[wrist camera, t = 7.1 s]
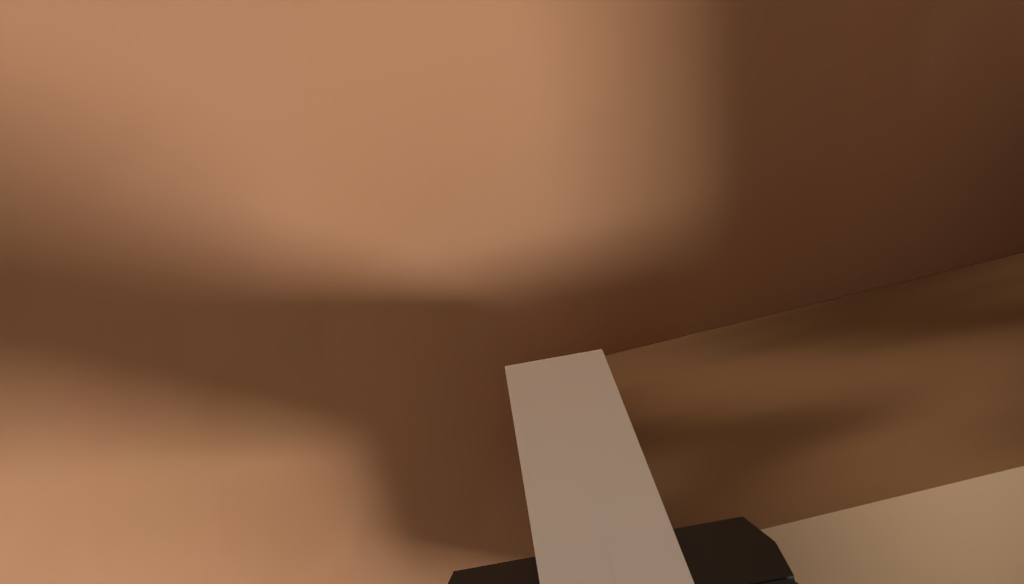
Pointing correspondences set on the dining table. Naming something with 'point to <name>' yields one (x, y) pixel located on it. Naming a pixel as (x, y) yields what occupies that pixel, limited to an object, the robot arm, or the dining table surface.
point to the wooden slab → (852, 429)
